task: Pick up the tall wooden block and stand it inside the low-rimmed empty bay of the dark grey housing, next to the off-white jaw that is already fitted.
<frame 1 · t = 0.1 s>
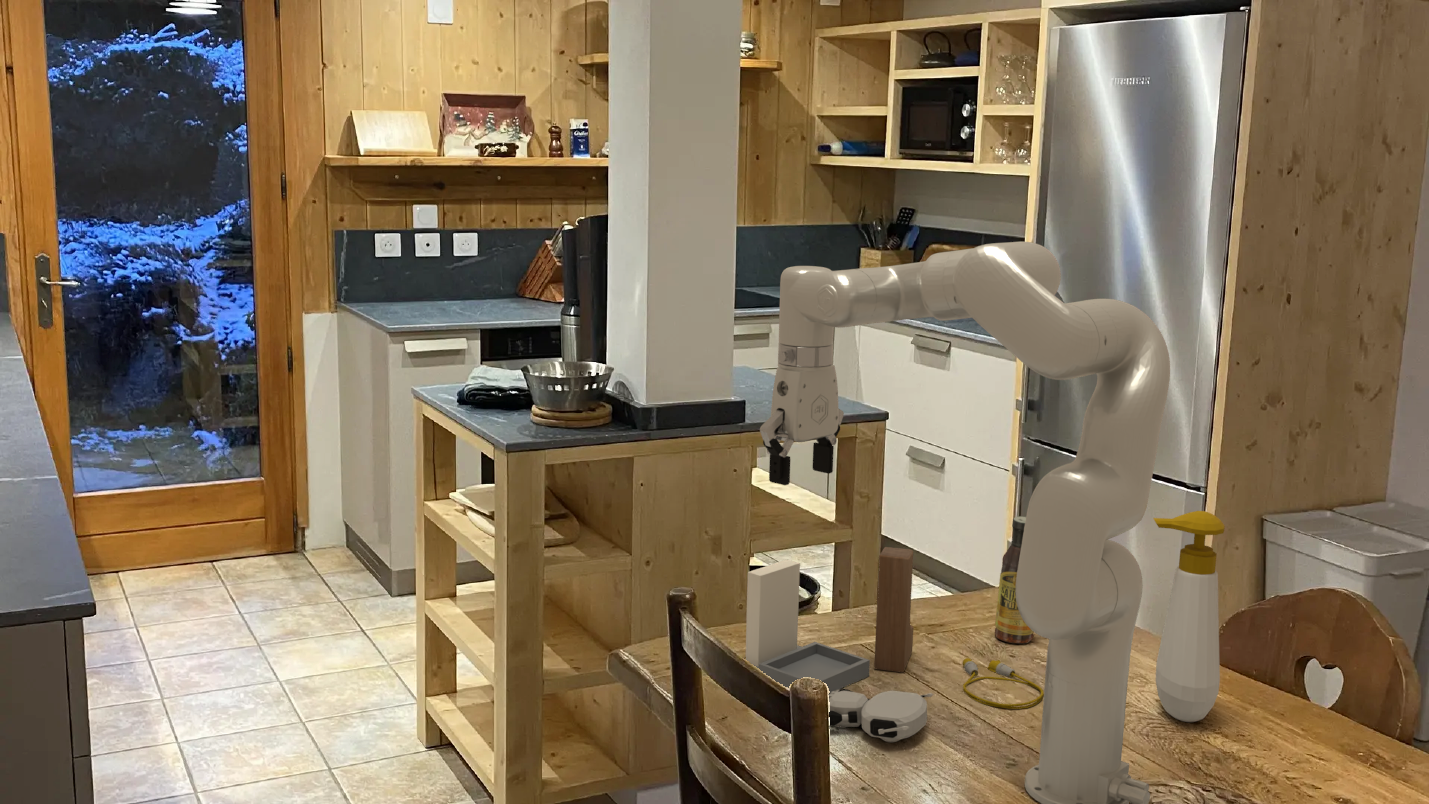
hand: (801, 477, 188), 31 cm above the table, tool pointing down, fingers open, 9 cm apart
soap bottle: (1176, 713, 188), on the table
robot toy: (870, 730, 181), on the table
housing: (799, 672, 199), on the table
sauce bottle: (1014, 640, 215), on the table
extension cord: (1000, 691, 195), on the table
wooden block: (893, 662, 205), on the table
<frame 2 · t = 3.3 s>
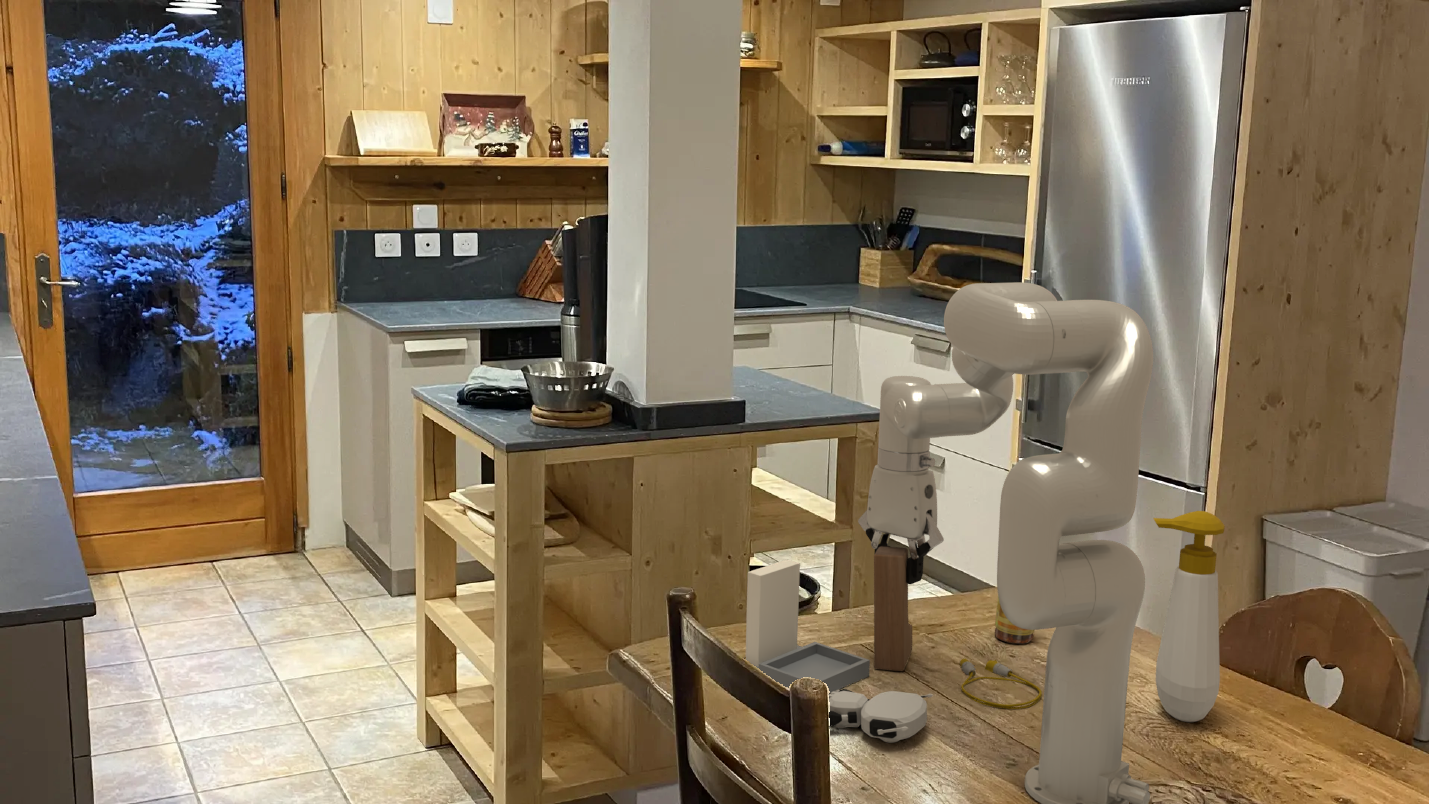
hand: (897, 576, 202), 13 cm above the table, tool pointing down, fingers closed on wooden block, 5 cm apart
wooden block: (893, 661, 205), on the table, touching gripper
everything else where it was.
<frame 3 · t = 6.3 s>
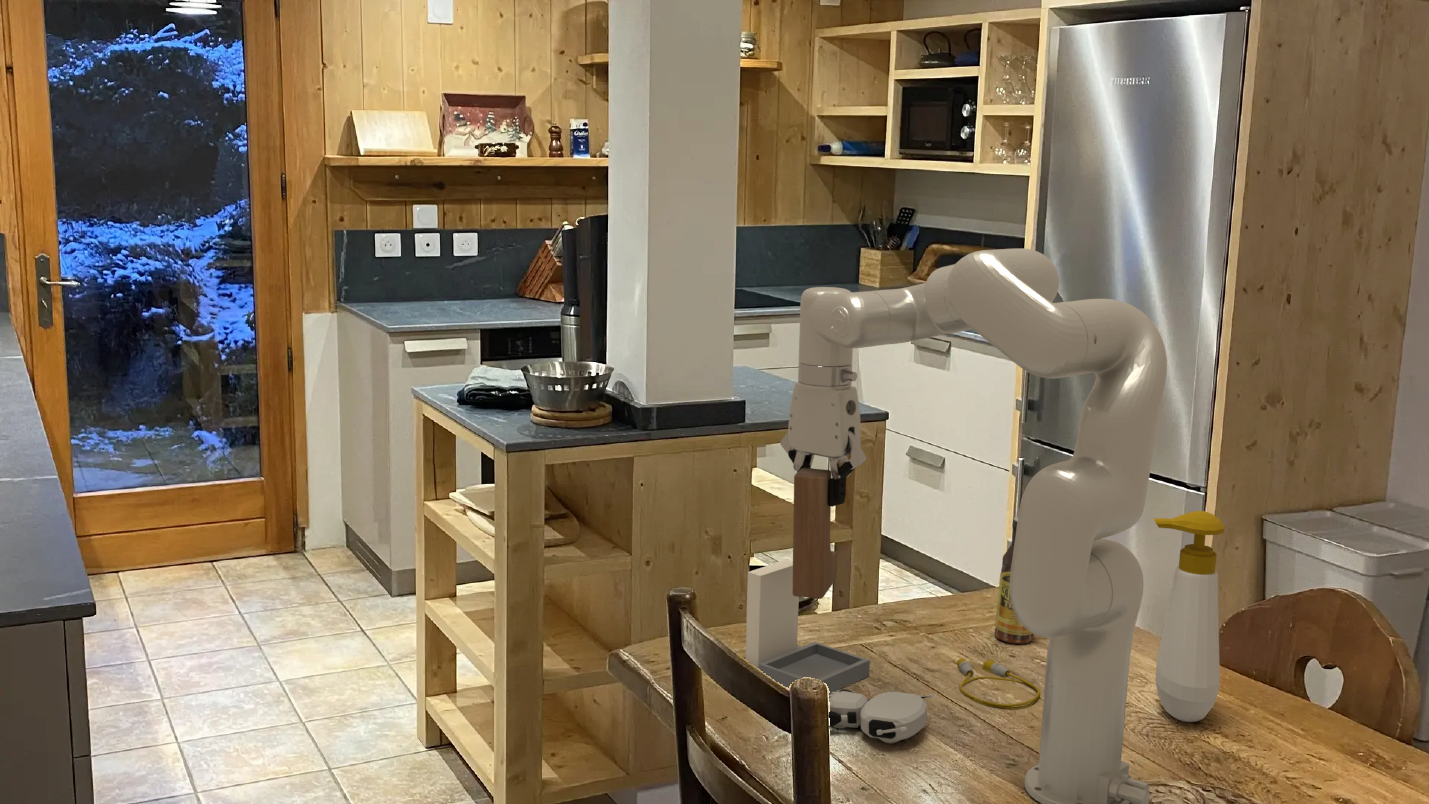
hand: (820, 499, 192), 27 cm above the table, tool pointing down, fingers closed on wooden block, 5 cm apart
wooden block: (814, 589, 195), point 13 cm above the table, touching gripper
everything else where it was.
when the fingers open (15 cm above the table, at t = 9.1 s): wooden block stays where it is, resting on housing.
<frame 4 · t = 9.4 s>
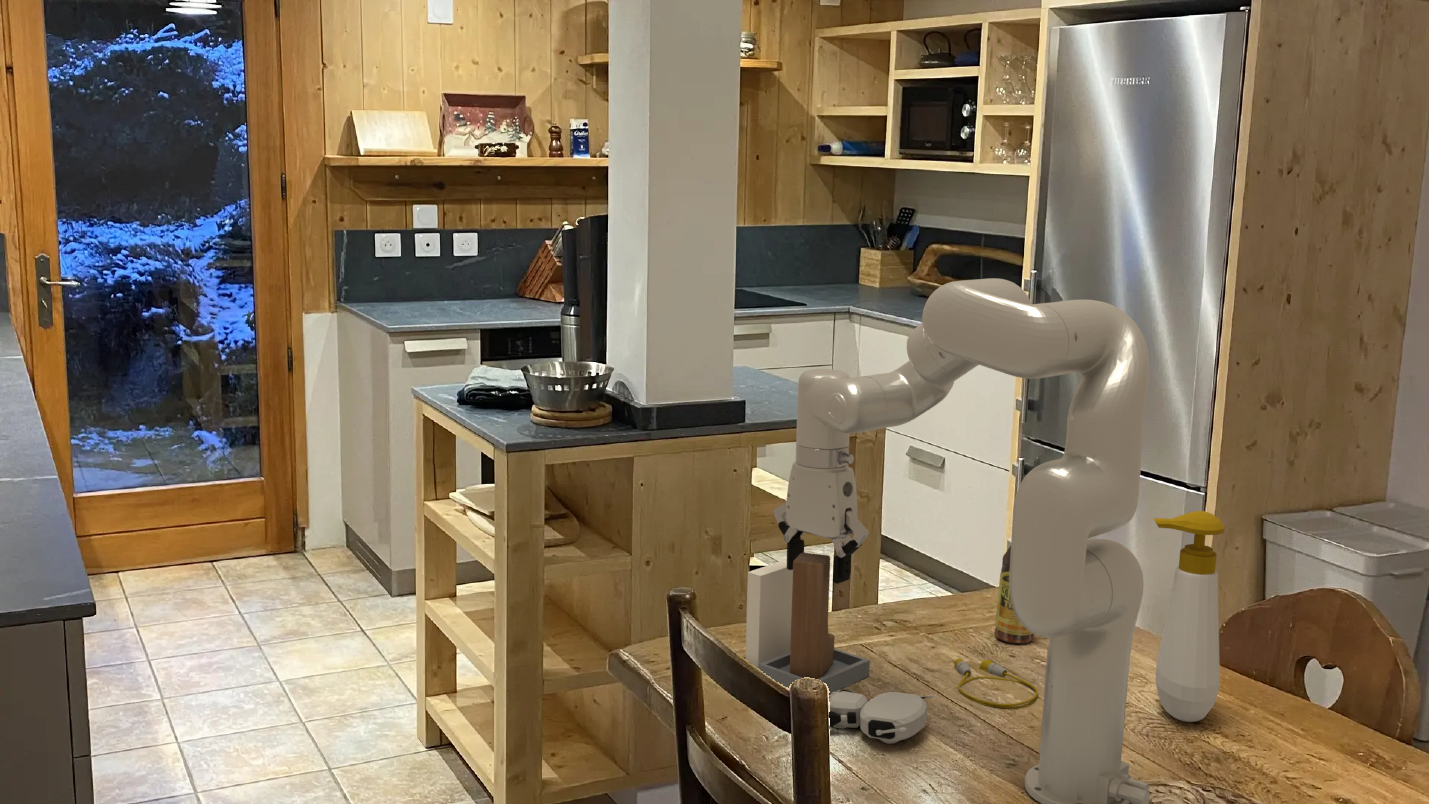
hand: (817, 573, 194), 16 cm above the table, tool pointing down, fingers open, 8 cm apart
wooden block: (811, 672, 197), point 1 cm above the table, touching housing
everything else where it was.
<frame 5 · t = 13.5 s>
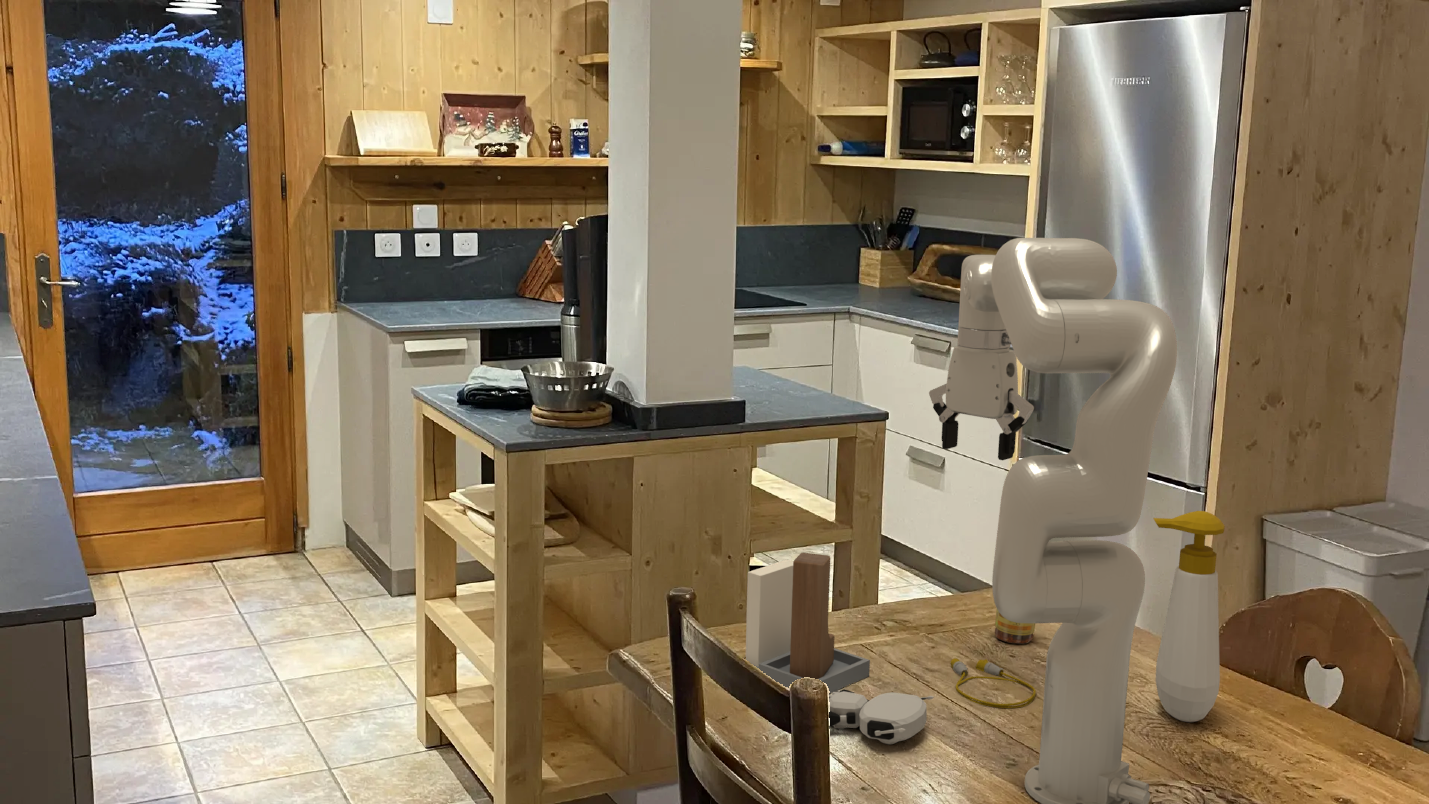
hand: (977, 453, 200), 32 cm above the table, tool pointing down, fingers open, 9 cm apart
at the end: wooden block inside the target area on the housing (0.4 cm from its centre), point 0.8 cm above the housing's base; wooden block tilted 0°; the gripper is holding nothing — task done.
